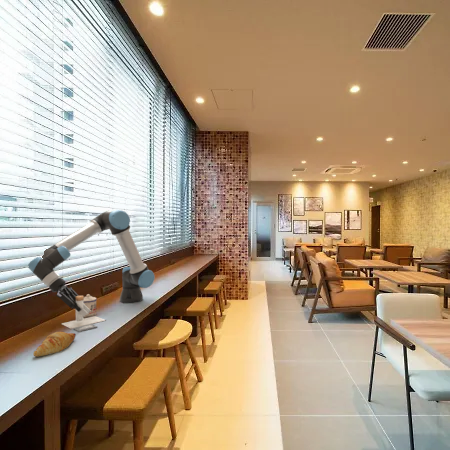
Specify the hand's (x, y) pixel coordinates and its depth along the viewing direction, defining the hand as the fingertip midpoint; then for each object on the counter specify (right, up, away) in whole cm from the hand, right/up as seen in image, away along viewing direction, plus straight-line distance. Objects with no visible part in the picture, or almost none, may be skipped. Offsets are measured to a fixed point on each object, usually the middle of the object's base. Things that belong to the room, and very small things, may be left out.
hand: (87, 313), depth 163 cm
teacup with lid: (-6, -6, +17) cm, 19 cm away
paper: (-3, -5, +2) cm, 6 cm away
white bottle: (-4, -3, 0) cm, 5 cm away
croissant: (+2, -5, -34) cm, 34 cm away
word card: (+3, -5, -8) cm, 10 cm away
